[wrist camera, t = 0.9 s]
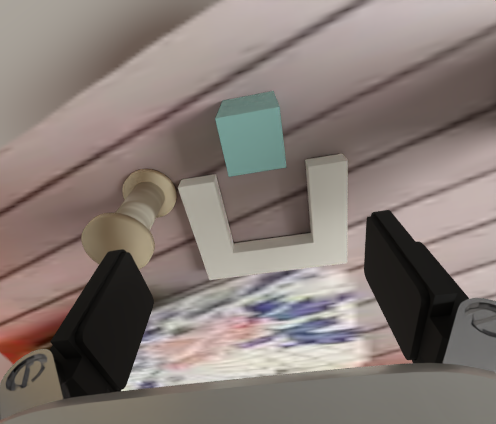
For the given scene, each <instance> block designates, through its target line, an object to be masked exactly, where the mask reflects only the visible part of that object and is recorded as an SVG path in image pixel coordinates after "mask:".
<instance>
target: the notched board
mask: <svg viewBox="0 0 496 424" xmlns="http://www.w3.org/2000/svg"><path fill="white" fill-rule="evenodd" d="M305 164H306V177H307V190H308V203H309V216H310V229H311V233H307V234H299V235H292V236H285V237H277V238H270V239H262V240H255V241H248V242H240V243H233V239H232V235H231V231H230V227H229V223H228V220H227V216H226V212H225V208H224V204H223V200H222V196H221V193H220V189H219V185H218V181H217V177H216V174H213V175H207V176H201V177H195V178H188V179H182V180H181V182H180V184H179V186H178V190H179V193H180V196H181V199H182V202H183V205H184V207H185V210H186V213H187V216H188V219H189V222H190V225H191V228H192V231H193V234H194V236H195V239H196V242H197V245H198V248H199V251H200V254H201V257H202V260H203V263H204V266H205V268H206V271H207V274H208V277H209V280H215V279H223V278H231V277H239V276H247V275H255V274H263V273H271V272H279V271H287V270H295V269H303V268H312V267H320V266H328V265H336V264H344V263H347V218H348V160H347V159H346V157H345V156H344V155H343V154H337V155H331V156H324V157H318V158H312V159H306V160H305Z"/></svg>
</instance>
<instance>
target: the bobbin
mask: <svg viewBox="0 0 496 424" xmlns="http://www.w3.org/2000/svg"><path fill="white" fill-rule="evenodd" d="M122 193H123V197H124V200H125V201H124V202H123V203H122V205H121V206H120V207H119V209H118V210H117V211H116V213H104V214H101V215H98V216H96V217H95V218H93V219H92V220H91V221H90V222H89V223H88V225H87V226H86V227H85V228H84V230H83V232H82V237H81V238H82V245H83V247H84V249H85V251H86V253H87V254H88V255H89V256H90V258H92V259H93V260H94V261H95V262H96V263H98V264H99V265H100V263H101V261H102V260H103V258H104V257H105V255H106V254H107V253H108V252H109V251H114V250H121V249H124V250H125V251H126V252H129V253H130V254H131V255H132V257H133V259H134V261H135V263H136V265H137V267H138V269H141V268H143V267H144V266H145V265H147V263H148V262H149V261H150V259H151V257H152V254H153V252H154V248H155V243H154V239H153V236H152V234H151V233H150V229H151V227H152V225H153V223H154V221H155V219H156V218H158V217H162V216H165V215H167V214H168V213H169V212H170V211H171V210H172V209H173V207H174V205H175V203H176V200H177V191H176V188H175V186H174V184H173V182H172V181H171V180H170V179H169V178H168V177H167V176H166V175H164V174H163V173H161V172H159V171H156V170H153V169H140V170H137V171H135V172H133V173H132V174H130V176H129V177H128V178H127V179H126V180H125V182H124V184H123V188H122Z"/></svg>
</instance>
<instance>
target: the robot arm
mask: <svg viewBox="0 0 496 424" xmlns="http://www.w3.org/2000/svg"><path fill="white" fill-rule="evenodd" d="M364 273H365V277H366V279H367V281H368V283H369V286H370V288H371V290H372V292H373V294H374V296H375V298H376V300H377V302H378V304H379V306H380V308H381V310H382V312H383V314H384V316H385V318H386V320H387V322H388V324H389V326H390V328H391V330H392V332H393V334H394V336H395V338H396V340H397V342H398V344H399V346H400V348H401V351H402V353H403V355H404V356H405V358H406V359H407V360H412V362H413V363H412V364H394V365H381V366H369V367H356V368H345V369H334V370H324V371H314V372H303V373H293V374H283V375H273V376H263V377H253V378H243V379H233V380H223V381H214V382H204V383H194V384H185V385H175V386H166V387H157V388H147V389H138V390H129V391H121V389H124V388H125V386H126V384H127V381H128V378H129V375H130V373H131V370H132V367H133V364H134V361H135V358H136V355H137V352H138V349H139V346H140V343H141V340H142V337H143V334H144V332H145V329H146V326H147V323H148V320H149V317H150V314H151V311H152V308H153V304H154V300H153V296H152V294H151V292H150V290H149V289H148V287H147V285H146V283H145V281H144V279H143V277H142V275H141V273H140V271H139V269H138V267H137V265H136V263H135V261H134V259H133V257H132V255H131V254H130V253H129V252H126V251H125V250H124V249H121V250H114V251H109V252H108V253H107V254H106V255H105V257H104V258H103V260H102V261H101V263H100V265H99V266H98V268H97V269H96V271H95V272H94V274H93V276H92V277H91V279H90V280H89V282H88V283H87V285H86V287H85V288H84V290H83V291H82V293H81V294H80V296H79V298H78V299H77V301H76V302H75V304H74V305H73V307H72V309H71V310H70V312H69V313H68V315H67V316H66V318H65V320H64V321H63V323H62V324H61V326H60V327H59V329H58V331H57V332H56V334H55V335H54V337H53V338H52V340H51V343H52V345H53V346H52V347H51V349H50V350H47V349H40V350H36V351H33V352H31V353H29V354H27V355H25V356H24V357H22V358H21V359H20V360H18V361H17V362H16V363H15V364H14V365H13V366H12V367H11V368H10V369H9V370H8V371H7V373H6V374H5V375H4V377H3V379H2V381H1V383H0V424H496V301H493V300H489V299H485V298H472V299H469V298H468V296H467V295H466V294H465V293H464V292H463V291H462V289H461V288H460V287H459V286H458V285H457V283H456V282H455V281H454V280H453V279H452V278H451V276H450V275H449V274H448V273H447V272H446V270H445V269H444V268H443V267H442V266H441V265H440V263H439V262H438V261H437V260H436V259H435V257H434V256H433V255H432V254H431V253H430V252H429V250H428V249H427V248H426V247H425V246H424V245H423V244H422V243H421V242H415V241H414V239H413V238H412V237H411V236H410V234H409V233H408V232H407V231H406V230H405V228H404V227H403V226H402V225H401V223H400V222H399V221H398V220H397V219H396V217H395V216H394V215H393V214H392V212H391V211H389V210H385V211H378V212H373V213H372V215H371V217H367V222H366V242H365V262H364Z"/></svg>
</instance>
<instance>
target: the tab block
mask: <svg viewBox="0 0 496 424" xmlns="http://www.w3.org/2000/svg"><path fill="white" fill-rule="evenodd" d="M215 120H216V124H217V129H218V133H219V137H220V141H221V146H222V150H223V154H224V159H225V163H226V167H227V171H228V176H229V177H230V176H237V175H243V174H249V173H255V172H262V171H268V170H274V169H280V168H287V167H286V159H285V150H284V141H283V133H282V124H281V115H280V107H279V104H278V102H277V99H276V96H275V94H274V91H271V92H266V93H260V94H255V95H250V96H244V97H239V98H234V99H228V100H223V101H222V103H221V106H220V108H219V111H218V113H217V115H216V118H215Z"/></svg>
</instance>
